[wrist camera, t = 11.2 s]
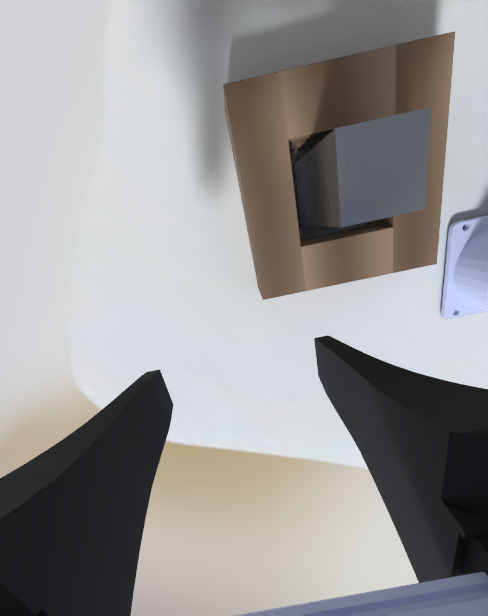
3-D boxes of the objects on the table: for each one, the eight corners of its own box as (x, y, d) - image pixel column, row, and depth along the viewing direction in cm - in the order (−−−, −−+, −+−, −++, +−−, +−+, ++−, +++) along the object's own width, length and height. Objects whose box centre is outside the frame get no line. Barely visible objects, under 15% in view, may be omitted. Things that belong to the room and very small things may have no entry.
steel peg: (351, 151, 17) (430, 107, 10) (354, 213, 18) (424, 209, 11) (294, 164, 17) (335, 128, 10) (301, 224, 18) (340, 227, 11)
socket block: (413, 66, 15) (455, 31, 12) (406, 257, 19) (436, 263, 16) (224, 109, 15) (223, 84, 13) (258, 288, 20) (263, 299, 17)
